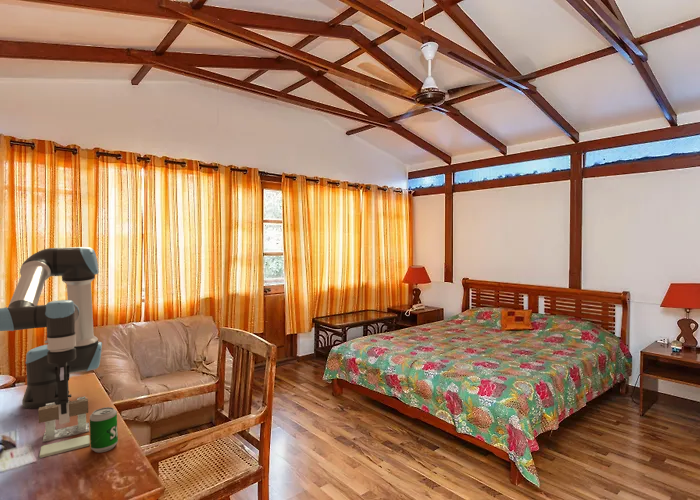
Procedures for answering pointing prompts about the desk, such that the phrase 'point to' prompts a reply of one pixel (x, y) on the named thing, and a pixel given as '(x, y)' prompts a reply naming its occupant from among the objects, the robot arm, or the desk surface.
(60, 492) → the desk surface
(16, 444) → the desk surface
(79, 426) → the rack
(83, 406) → the rail
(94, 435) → the soda can
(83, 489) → the desk surface
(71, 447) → the mat
